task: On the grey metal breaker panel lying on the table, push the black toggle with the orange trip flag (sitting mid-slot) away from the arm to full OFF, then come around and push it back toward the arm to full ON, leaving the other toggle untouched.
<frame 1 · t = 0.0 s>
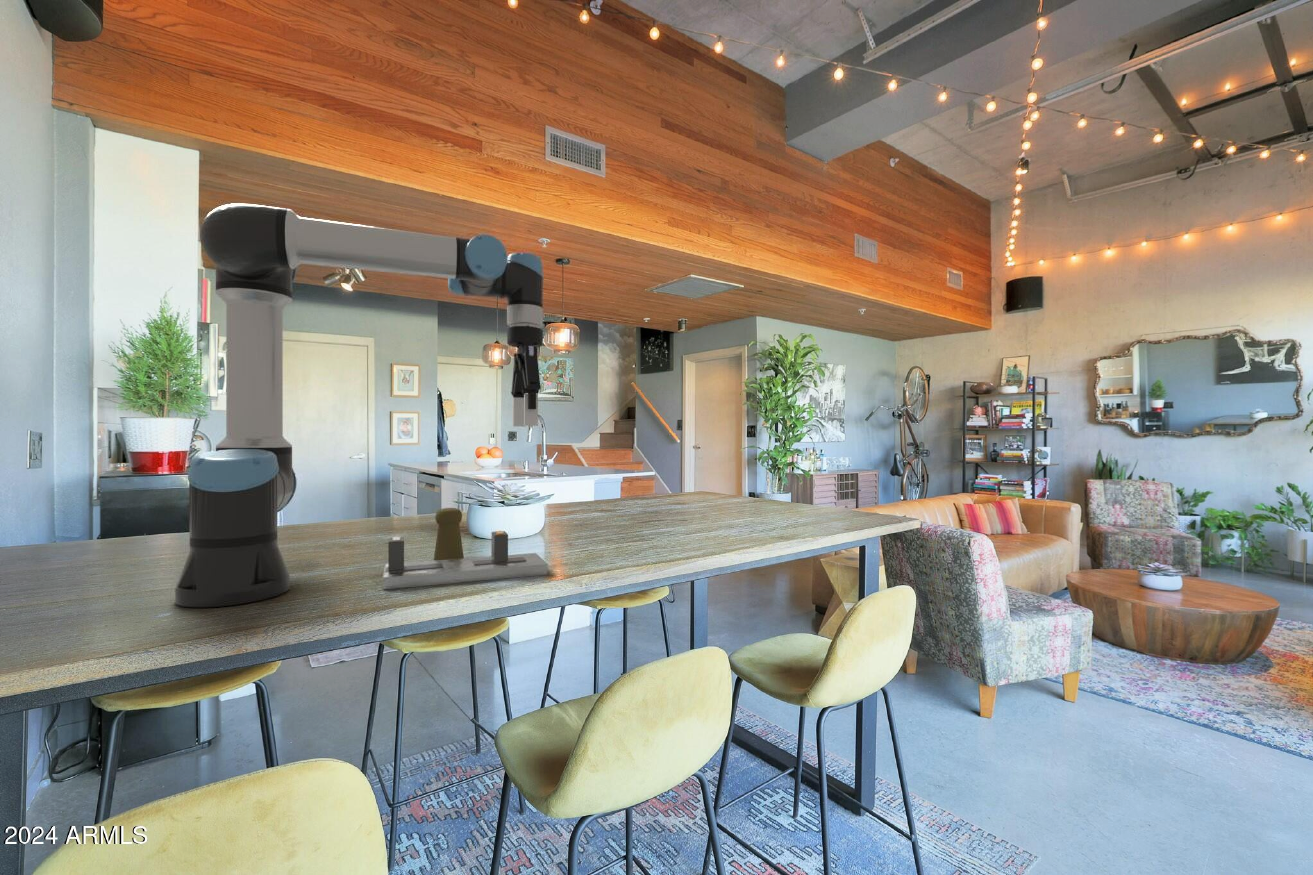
hand: (524, 426, 127), 28 cm above the table, fingers open, 13 cm apart
panel: (466, 574, 110), on the table
tripped breaker: (499, 545, 112), point 5 cm above the table, slide at 3.0 cm
cork: (448, 562, 121), on the table
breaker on: (396, 552, 105), point 5 cm above the table, slide at 0.0 cm
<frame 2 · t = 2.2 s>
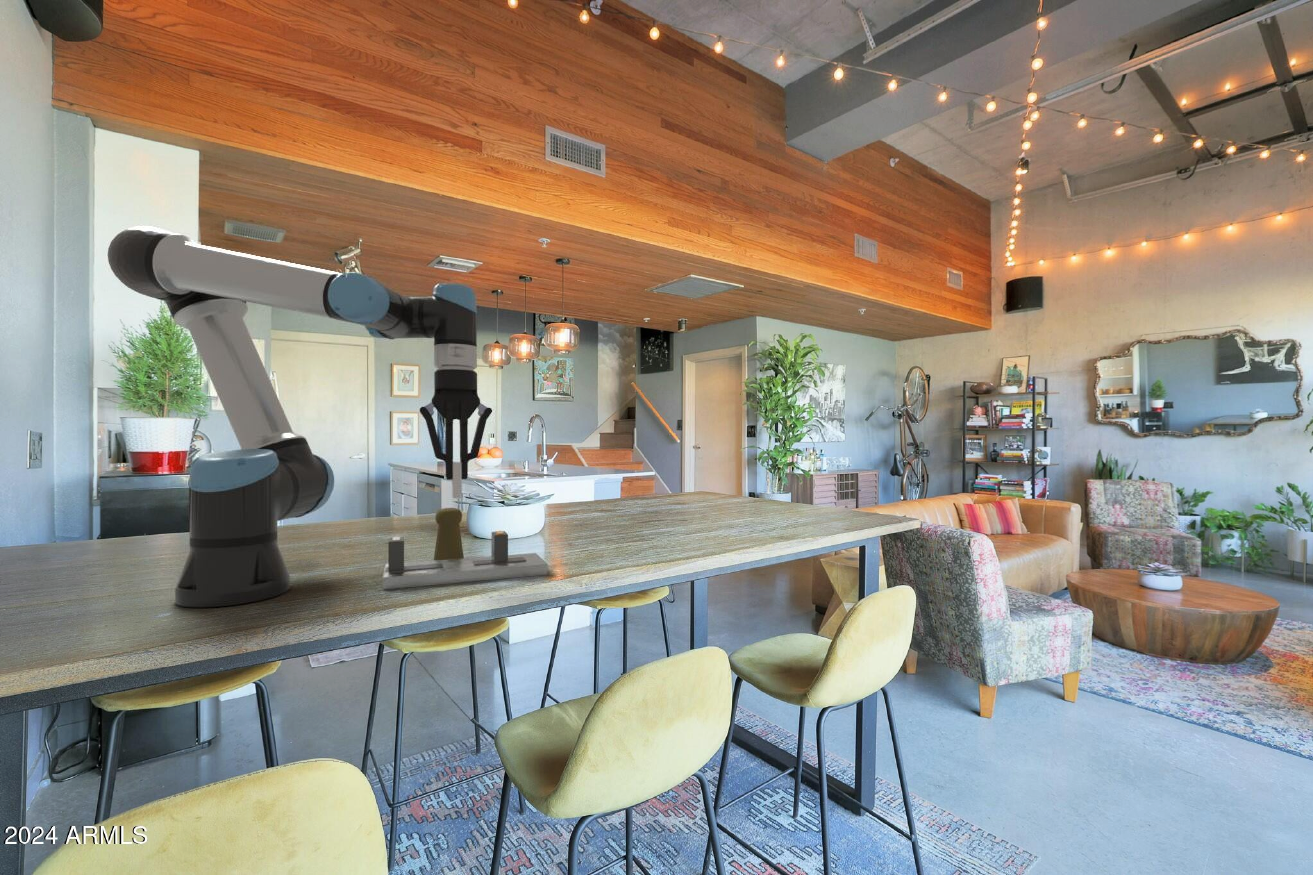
hand: (456, 497, 109), 15 cm above the table, fingers closed
nothing on the table moved.
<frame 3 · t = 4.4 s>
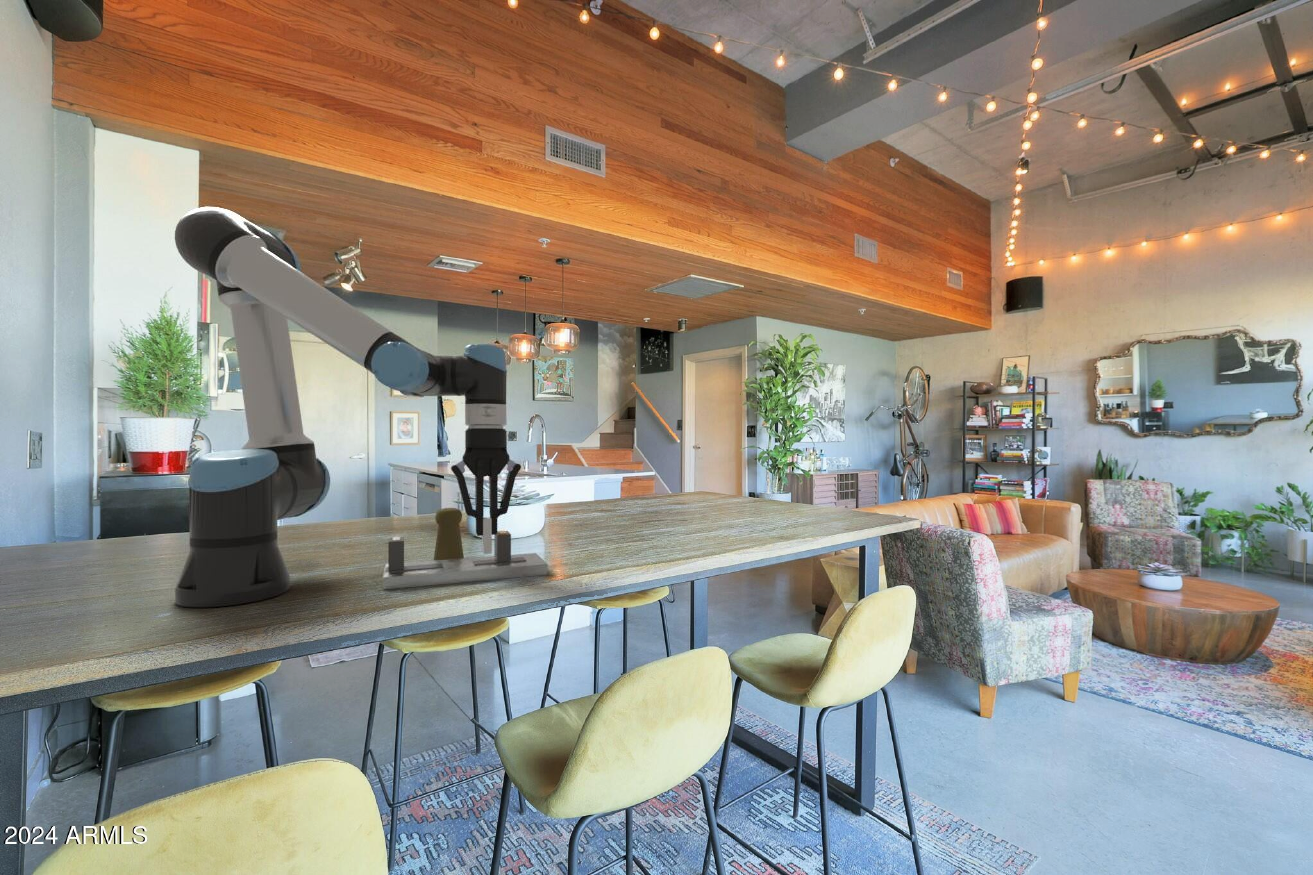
hand: (486, 552, 111), 4 cm above the table, fingers closed
tripped breaker: (502, 545, 112), point 5 cm above the table, slide at 3.6 cm, touching gripper
everything else where it was.
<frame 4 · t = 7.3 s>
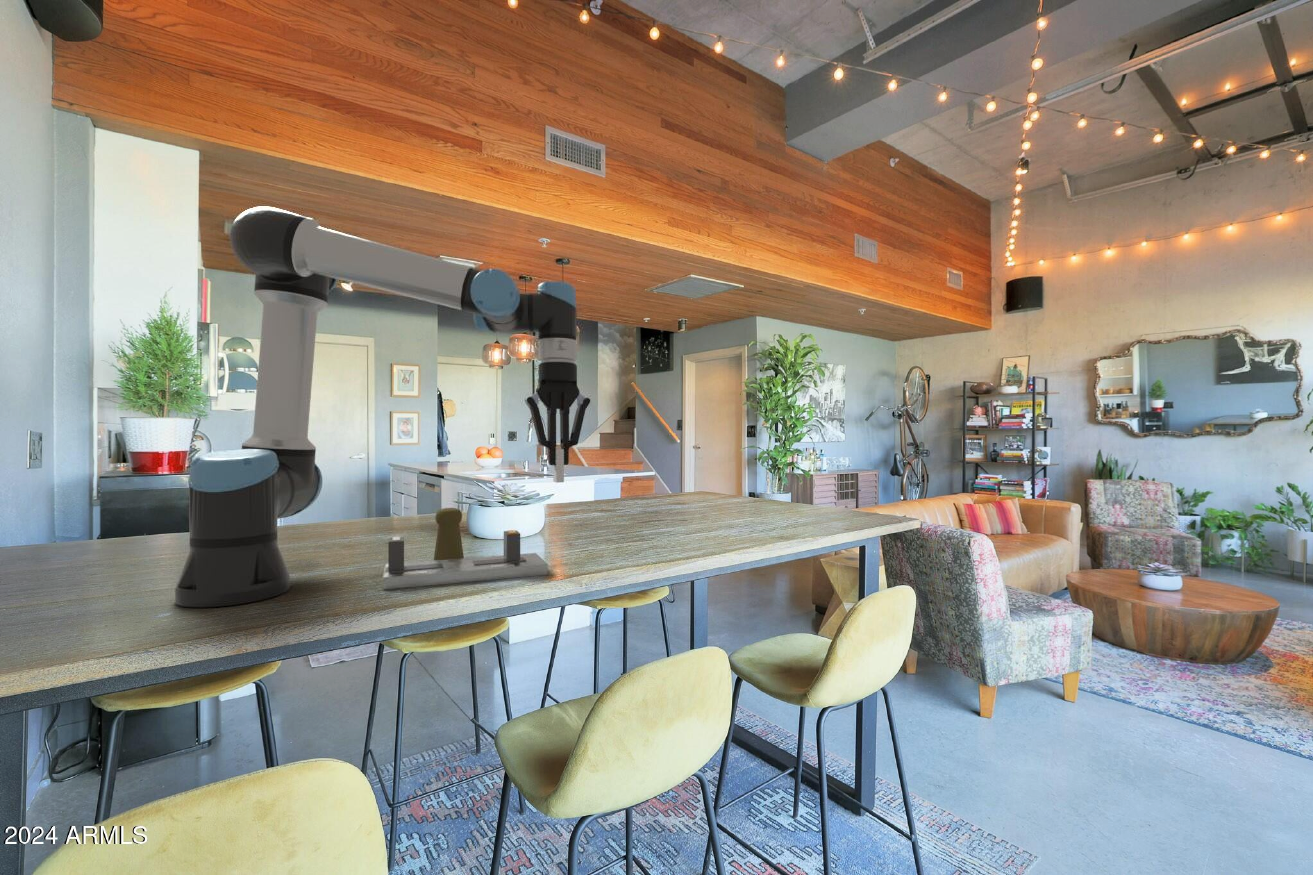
hand: (558, 481, 116), 17 cm above the table, fingers closed
tripped breaker: (511, 544, 113), point 5 cm above the table, slide at 5.3 cm
everything else where it was.
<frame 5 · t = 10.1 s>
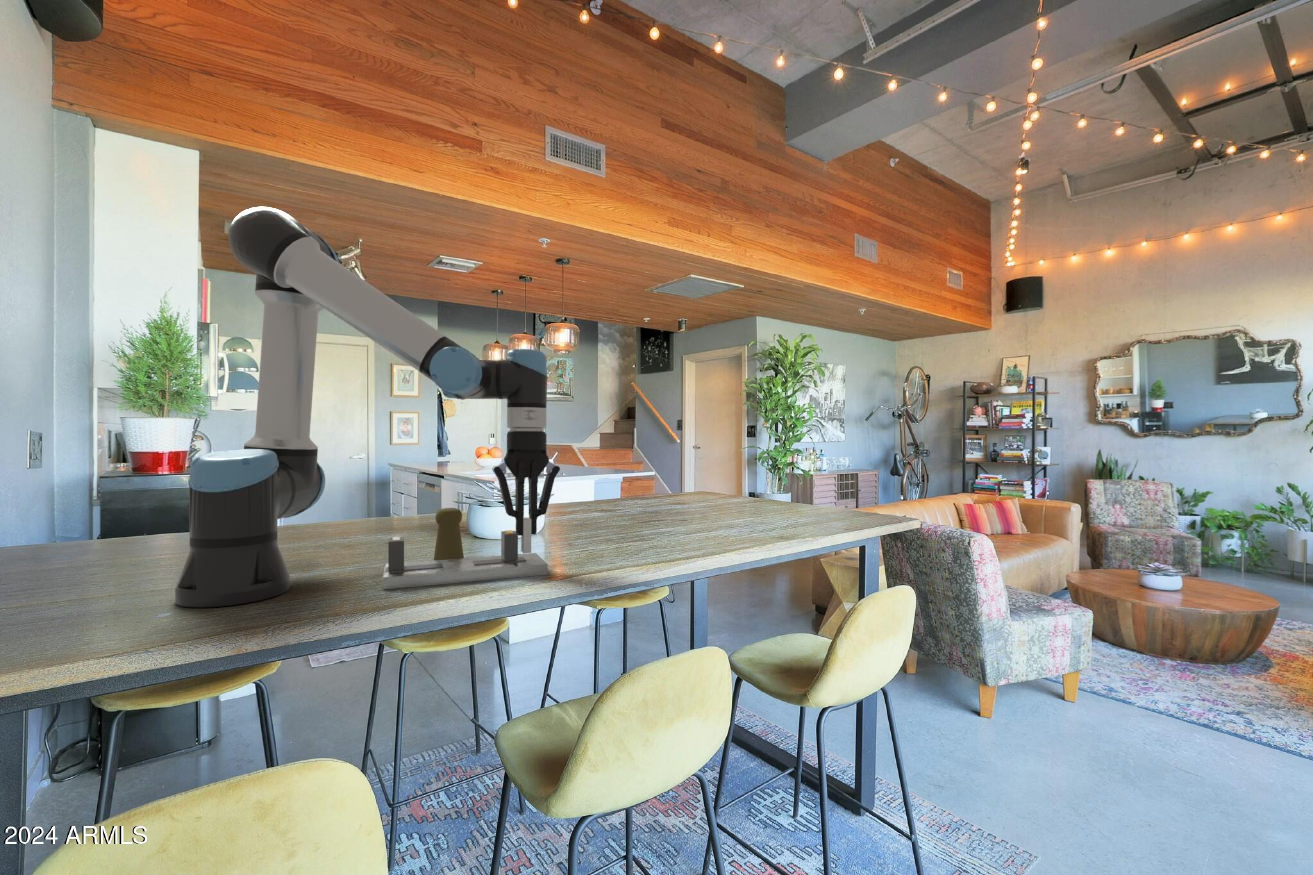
hand: (526, 551, 114), 3 cm above the table, fingers closed
tripped breaker: (509, 545, 113), point 5 cm above the table, slide at 4.8 cm, touching gripper
everything else where it was.
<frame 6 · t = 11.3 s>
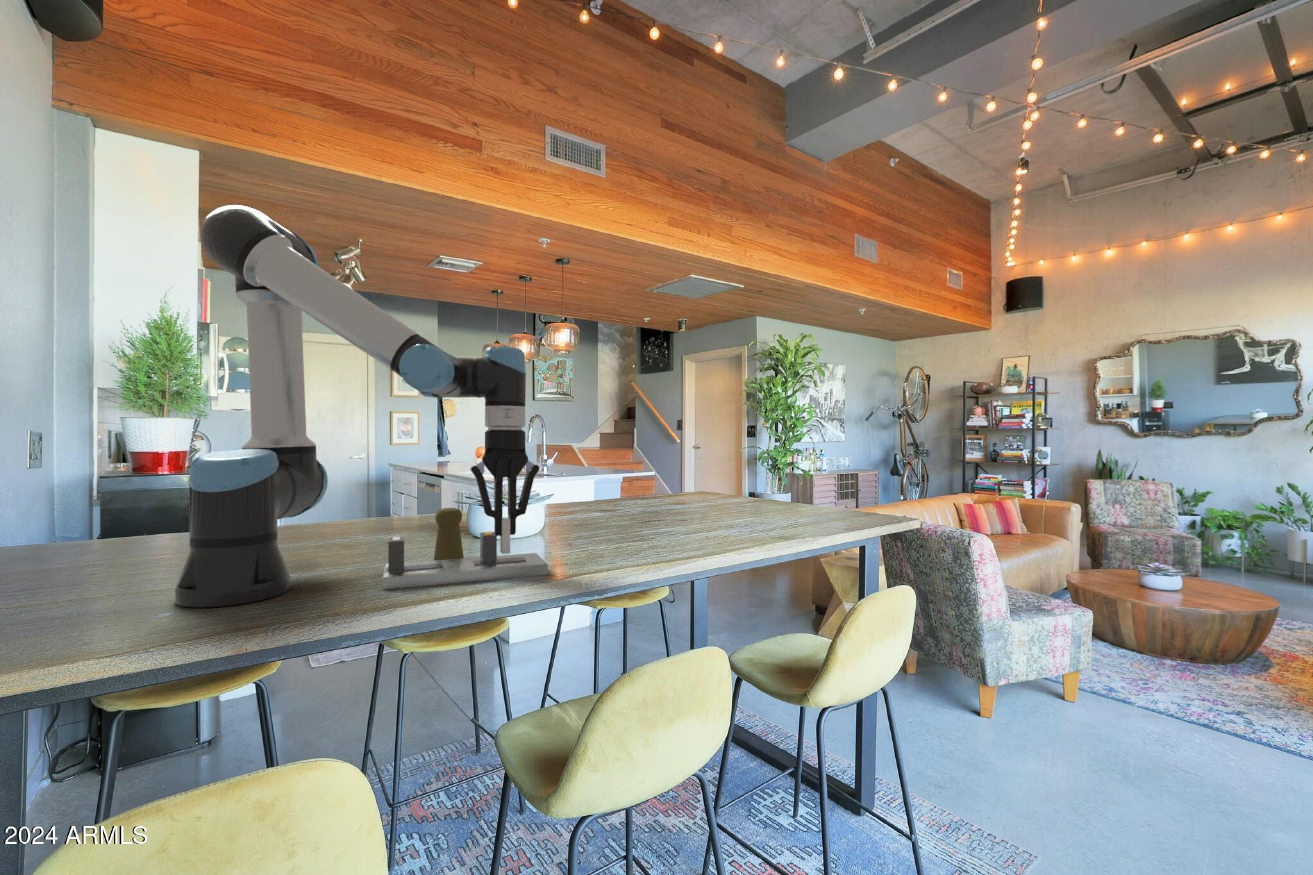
hand: (505, 552, 112), 4 cm above the table, fingers closed
tripped breaker: (488, 546, 111), point 5 cm above the table, slide at 0.9 cm, touching gripper
everything else where it was.
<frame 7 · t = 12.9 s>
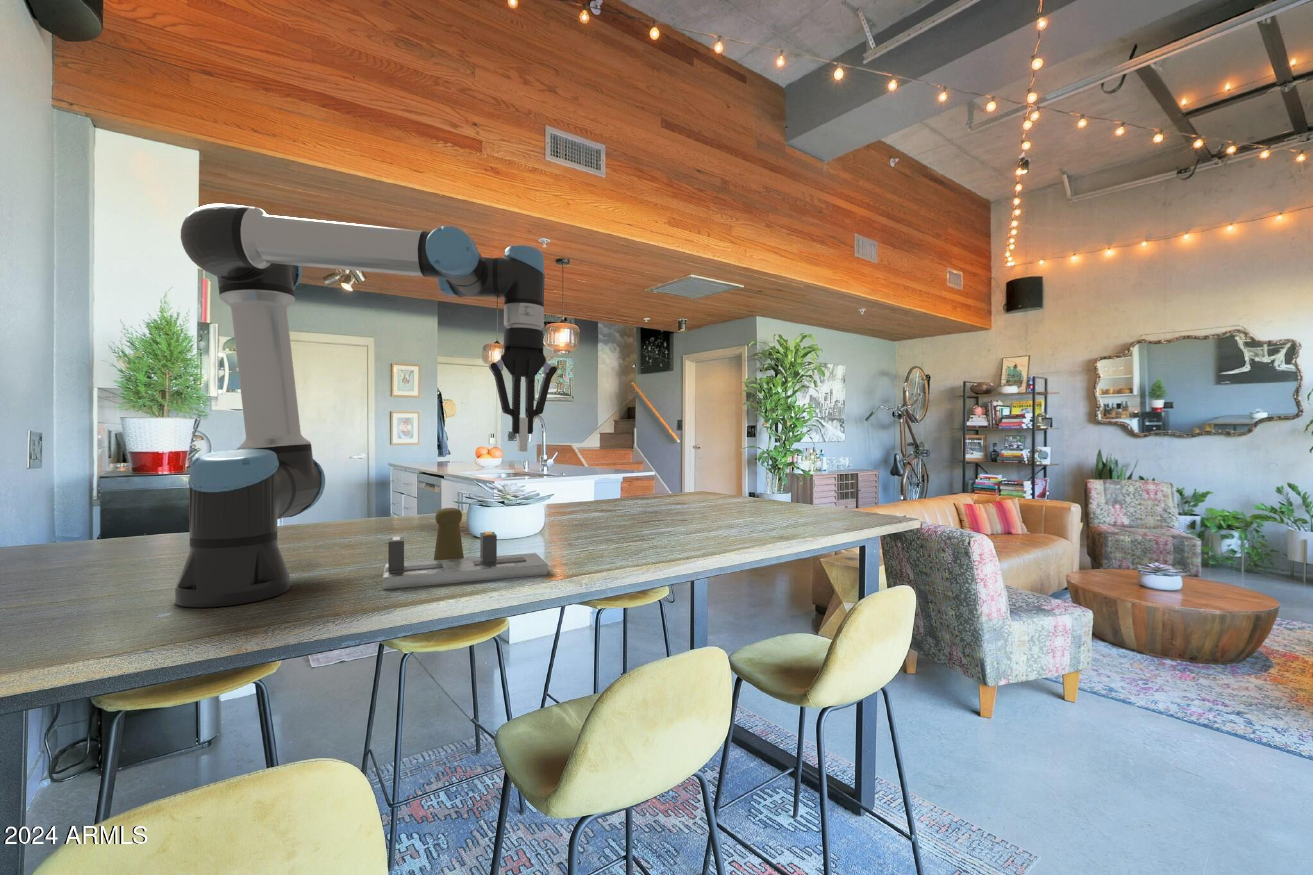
hand: (522, 451, 114), 23 cm above the table, fingers closed
tripped breaker: (488, 546, 111), point 5 cm above the table, slide at 0.9 cm
everything else where it was.
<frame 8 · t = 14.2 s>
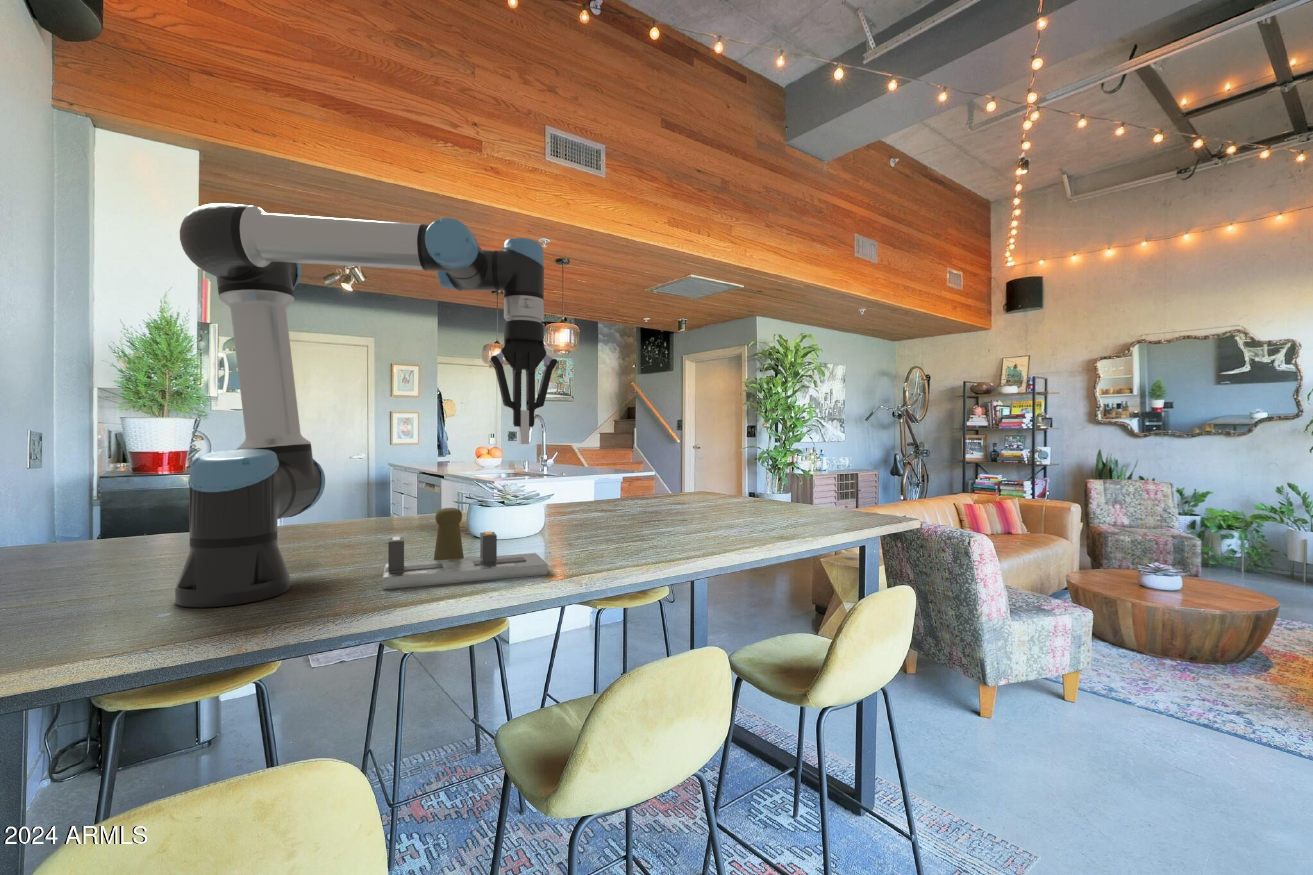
hand: (523, 443, 114), 24 cm above the table, fingers closed
nothing on the table moved.
at the end: tripped breaker slide at 0.9 cm; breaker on slide at 0.0 cm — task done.
